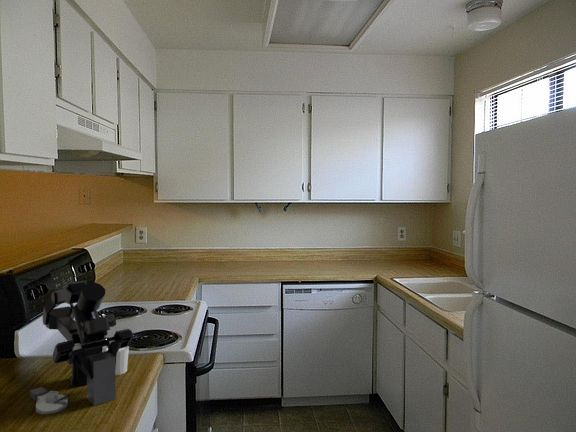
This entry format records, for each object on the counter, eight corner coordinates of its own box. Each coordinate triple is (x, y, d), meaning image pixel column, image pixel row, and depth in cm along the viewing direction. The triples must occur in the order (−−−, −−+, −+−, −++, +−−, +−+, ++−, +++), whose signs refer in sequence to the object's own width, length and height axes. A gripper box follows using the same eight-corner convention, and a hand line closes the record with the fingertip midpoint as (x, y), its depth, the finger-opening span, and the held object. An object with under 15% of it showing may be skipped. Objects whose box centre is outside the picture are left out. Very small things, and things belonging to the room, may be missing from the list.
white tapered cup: (111, 366, 131) (111, 343, 131) (133, 367, 130) (133, 344, 130) (99, 375, 124) (98, 351, 124) (122, 377, 124) (121, 352, 123)
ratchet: (72, 406, 106) (72, 392, 106) (42, 417, 101) (42, 402, 101) (50, 390, 115) (49, 376, 115) (21, 399, 110) (21, 385, 110)
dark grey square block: (87, 398, 111) (86, 355, 110) (108, 392, 114) (107, 350, 114) (94, 405, 107) (93, 361, 106) (115, 399, 110) (114, 356, 110)
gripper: (54, 311, 106) (68, 369, 98) (130, 299, 118) (148, 350, 111) (47, 335, 112) (60, 391, 105) (119, 321, 125) (135, 371, 117)
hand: (102, 375), depth 109 cm, fingers closed on dark grey square block, 5 cm apart
